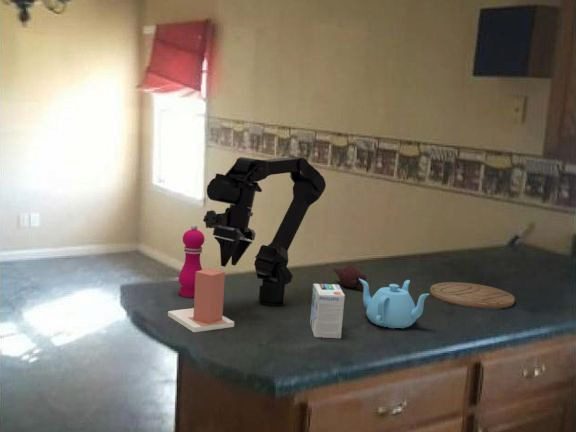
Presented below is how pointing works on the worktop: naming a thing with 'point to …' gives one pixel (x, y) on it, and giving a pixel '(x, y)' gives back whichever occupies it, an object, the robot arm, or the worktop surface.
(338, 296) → the light bulb box
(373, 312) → the teapot
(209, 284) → the block
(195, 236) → the pepper mill
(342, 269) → the maroon lumpy piece
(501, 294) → the trivet
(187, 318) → the board
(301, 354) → the worktop surface
